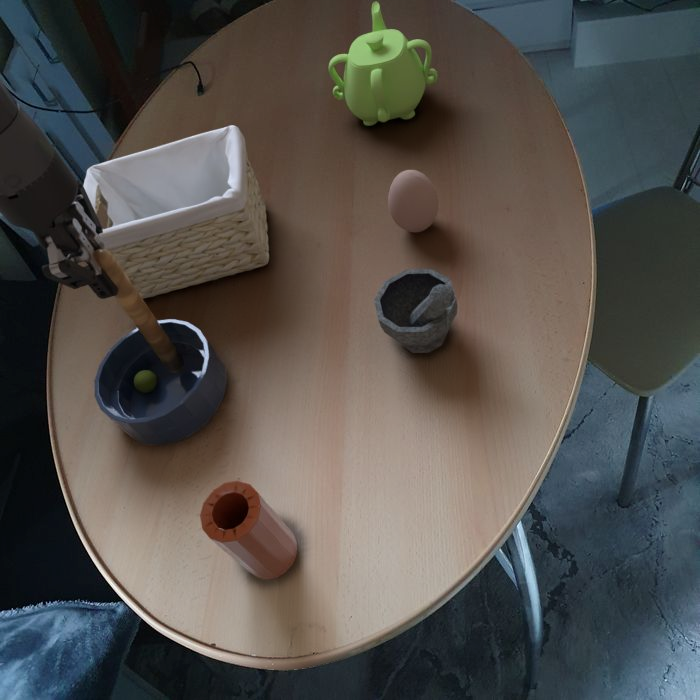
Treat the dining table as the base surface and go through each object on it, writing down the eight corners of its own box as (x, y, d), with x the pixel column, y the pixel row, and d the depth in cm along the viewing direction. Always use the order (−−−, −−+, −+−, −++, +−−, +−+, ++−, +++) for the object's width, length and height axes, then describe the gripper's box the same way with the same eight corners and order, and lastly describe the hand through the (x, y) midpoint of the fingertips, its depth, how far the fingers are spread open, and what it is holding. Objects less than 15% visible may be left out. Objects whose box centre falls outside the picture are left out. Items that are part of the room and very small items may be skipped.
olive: (154, 399, 88) (143, 387, 86) (136, 394, 90) (125, 382, 87) (165, 380, 90) (155, 368, 87) (147, 375, 91) (136, 363, 89)
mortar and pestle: (370, 339, 87) (348, 278, 77) (418, 292, 89) (403, 228, 80) (435, 384, 80) (421, 325, 71) (486, 332, 83) (478, 268, 73)
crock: (284, 587, 71) (243, 550, 61) (235, 569, 73) (189, 531, 64) (306, 533, 74) (270, 490, 64) (258, 518, 76) (217, 474, 66)
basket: (124, 310, 100) (68, 241, 88) (133, 234, 110) (83, 163, 98) (278, 271, 97) (241, 195, 86) (273, 196, 107) (239, 119, 95)
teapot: (326, 109, 117) (305, 42, 107) (389, 66, 120) (374, -3, 110) (382, 146, 108) (365, 76, 98) (450, 99, 110) (439, 27, 100)
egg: (407, 205, 99) (395, 152, 91) (450, 214, 96) (441, 160, 88) (386, 238, 96) (372, 187, 88) (429, 248, 93) (419, 196, 85)
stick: (181, 377, 88) (99, 262, 70) (166, 374, 89) (81, 258, 71) (190, 363, 89) (111, 245, 71) (175, 359, 90) (93, 242, 72)
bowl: (194, 459, 82) (171, 435, 77) (99, 432, 88) (71, 407, 83) (247, 358, 89) (229, 329, 84) (156, 338, 95) (134, 311, 90)
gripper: (-10, 130, 66) (85, 250, 80) (-39, 227, 58) (73, 342, 72) (60, 108, 65) (144, 233, 79) (42, 203, 57) (139, 324, 71)
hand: (110, 284), depth 75 cm, fingers closed on stick, 2 cm apart
